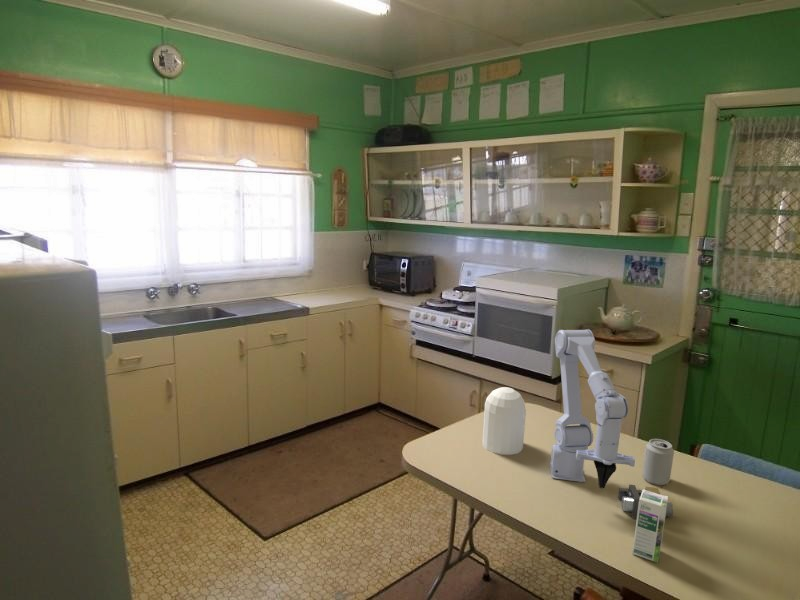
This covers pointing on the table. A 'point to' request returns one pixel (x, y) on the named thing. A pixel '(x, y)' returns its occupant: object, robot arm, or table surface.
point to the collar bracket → (634, 496)
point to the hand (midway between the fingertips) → (601, 486)
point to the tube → (628, 506)
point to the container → (504, 421)
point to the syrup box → (650, 525)
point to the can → (658, 462)
